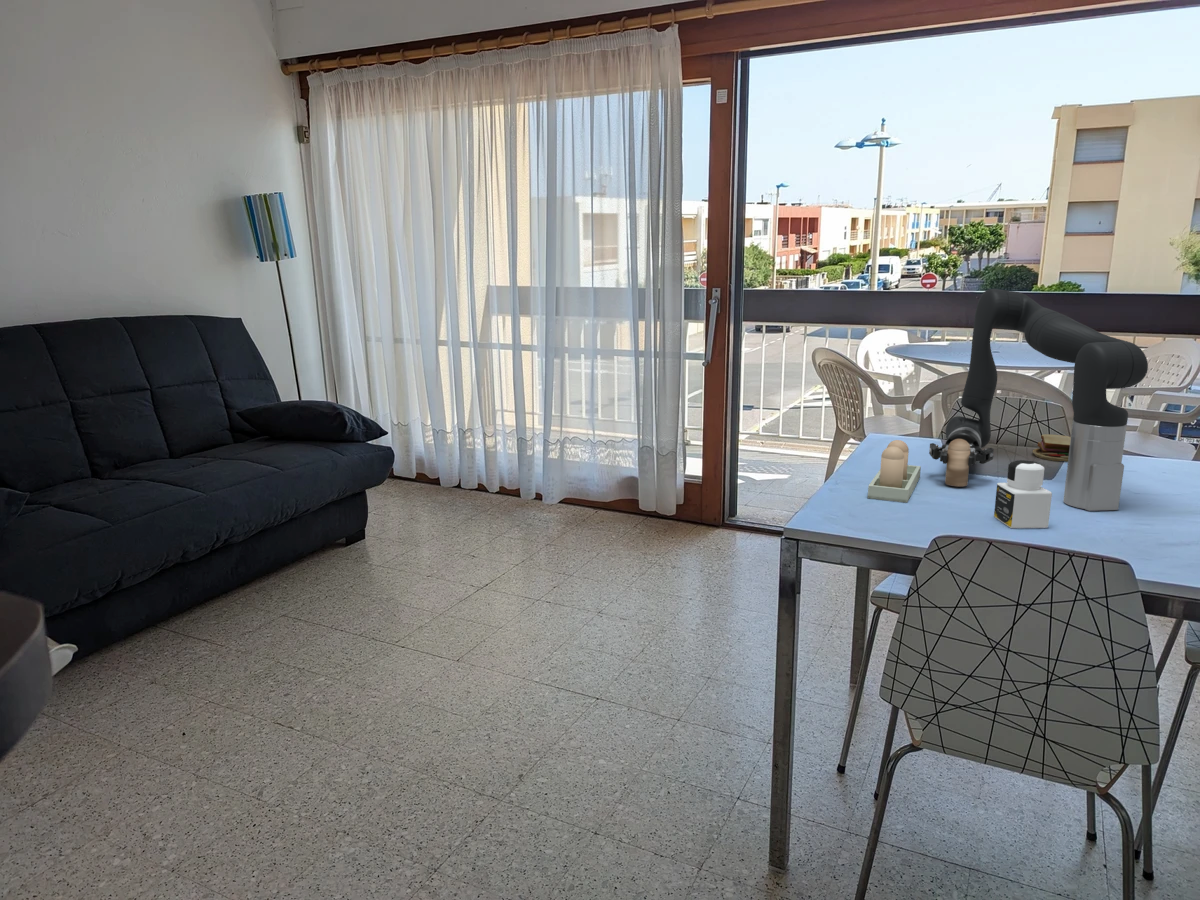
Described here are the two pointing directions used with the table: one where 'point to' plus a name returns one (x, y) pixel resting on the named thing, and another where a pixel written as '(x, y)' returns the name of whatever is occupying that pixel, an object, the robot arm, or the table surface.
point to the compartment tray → (894, 475)
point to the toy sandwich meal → (1053, 447)
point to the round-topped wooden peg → (957, 463)
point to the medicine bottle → (1023, 497)
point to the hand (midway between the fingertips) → (957, 460)
